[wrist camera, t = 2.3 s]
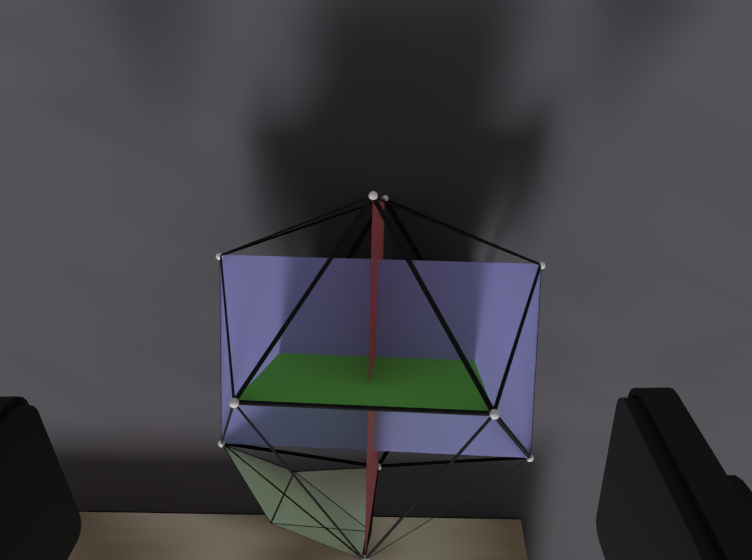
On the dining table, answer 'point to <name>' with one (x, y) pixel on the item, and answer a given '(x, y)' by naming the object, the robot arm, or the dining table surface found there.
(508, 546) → the birch platform
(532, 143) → the dining table surface
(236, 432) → the geometric puzzle
